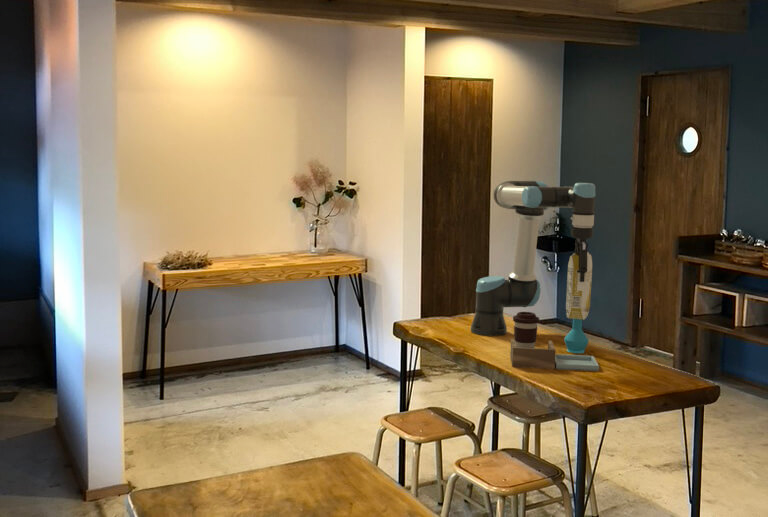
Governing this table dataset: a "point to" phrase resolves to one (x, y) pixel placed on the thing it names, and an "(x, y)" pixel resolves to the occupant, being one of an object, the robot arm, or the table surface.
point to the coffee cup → (525, 329)
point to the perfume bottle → (576, 338)
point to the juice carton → (578, 299)
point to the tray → (576, 362)
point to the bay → (533, 356)
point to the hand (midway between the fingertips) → (579, 288)
